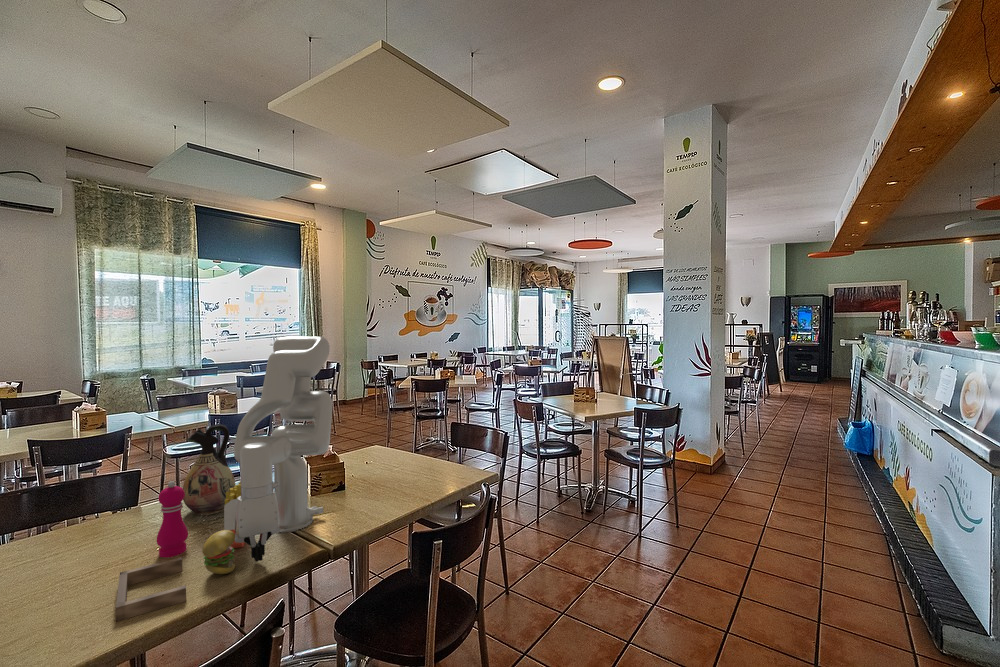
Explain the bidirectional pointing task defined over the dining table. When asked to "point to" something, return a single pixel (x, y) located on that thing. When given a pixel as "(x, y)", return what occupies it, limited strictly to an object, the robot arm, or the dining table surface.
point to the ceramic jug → (208, 474)
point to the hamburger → (219, 552)
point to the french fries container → (232, 511)
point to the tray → (150, 601)
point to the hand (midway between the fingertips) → (258, 559)
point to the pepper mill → (172, 522)
